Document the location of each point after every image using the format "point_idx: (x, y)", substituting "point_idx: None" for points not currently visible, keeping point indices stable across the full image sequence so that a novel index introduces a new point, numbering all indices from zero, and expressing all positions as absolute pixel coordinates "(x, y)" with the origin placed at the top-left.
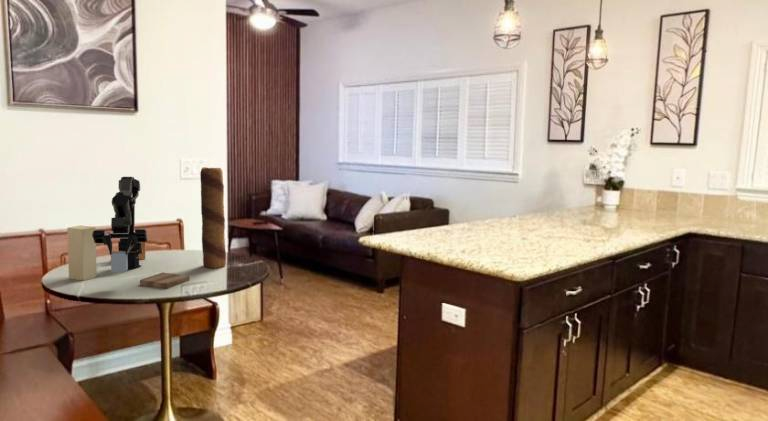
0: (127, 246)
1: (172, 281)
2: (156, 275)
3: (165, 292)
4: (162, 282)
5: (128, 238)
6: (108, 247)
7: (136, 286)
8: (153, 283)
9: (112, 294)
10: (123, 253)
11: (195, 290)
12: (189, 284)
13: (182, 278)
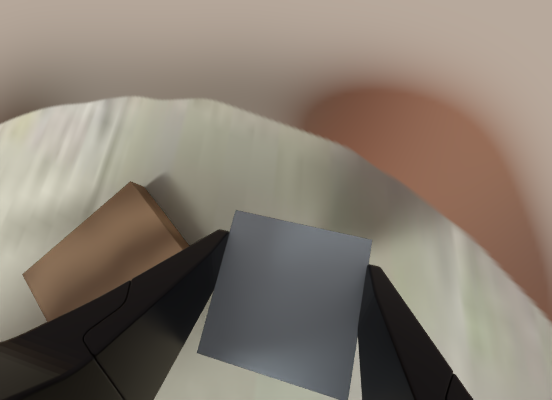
0: (169, 276)
1: (105, 205)
2: None
3: (162, 143)
4: (141, 204)
5: (13, 390)
6: (430, 343)
7: None
8: (172, 231)
9: (329, 182)
10: (247, 239)
11: (77, 133)
12: (65, 214)
13: (59, 243)
